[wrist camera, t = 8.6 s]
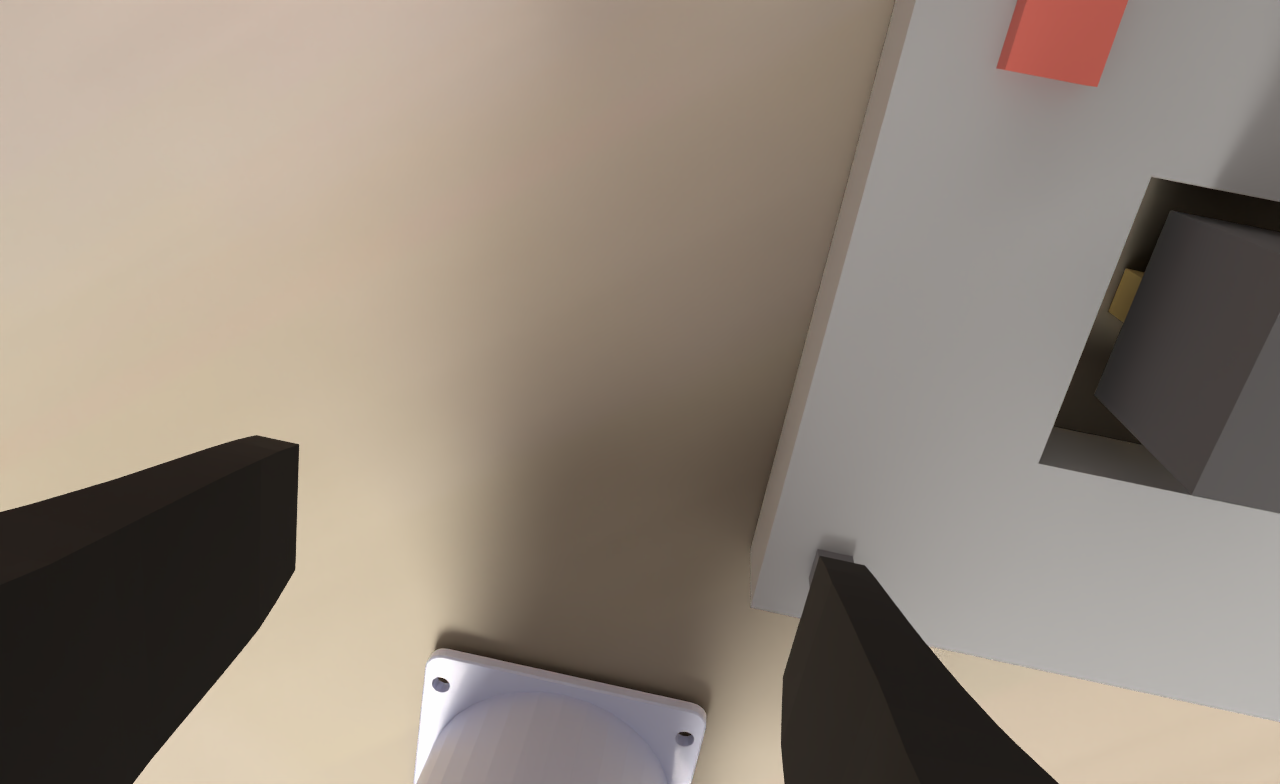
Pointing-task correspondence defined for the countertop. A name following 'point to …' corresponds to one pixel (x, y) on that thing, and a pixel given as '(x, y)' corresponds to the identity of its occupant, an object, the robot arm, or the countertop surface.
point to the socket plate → (1026, 348)
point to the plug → (1203, 358)
